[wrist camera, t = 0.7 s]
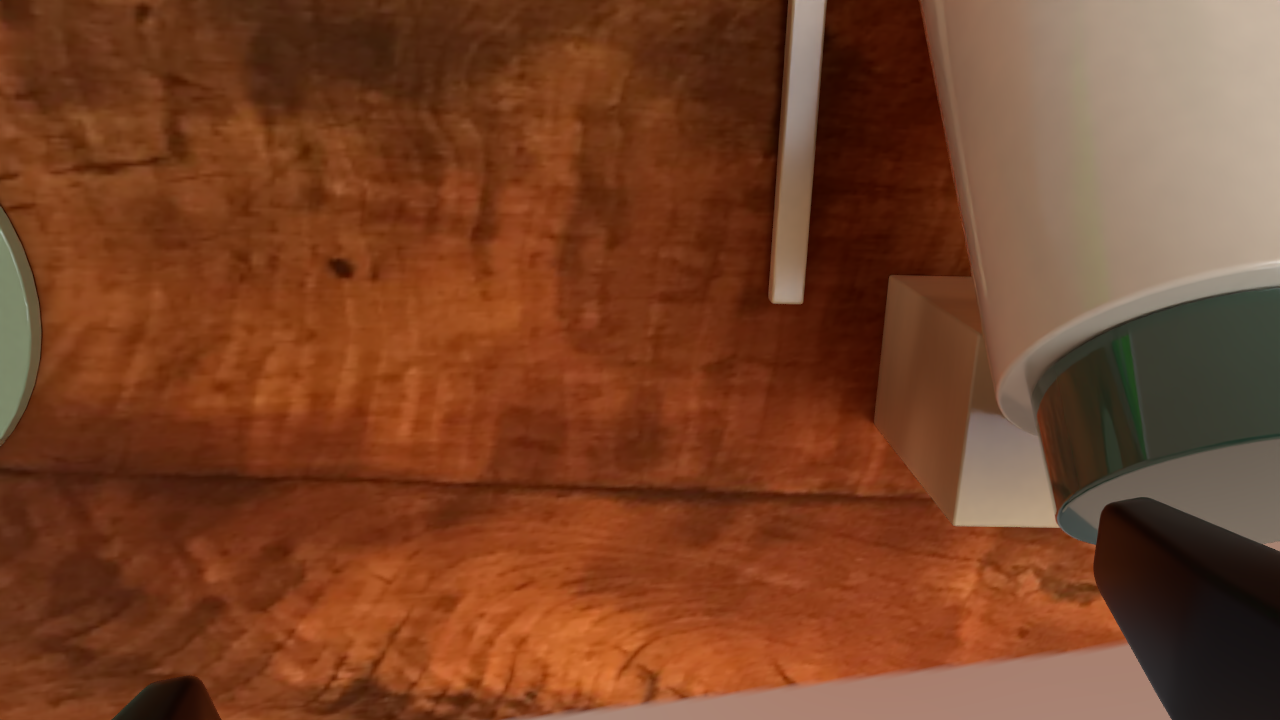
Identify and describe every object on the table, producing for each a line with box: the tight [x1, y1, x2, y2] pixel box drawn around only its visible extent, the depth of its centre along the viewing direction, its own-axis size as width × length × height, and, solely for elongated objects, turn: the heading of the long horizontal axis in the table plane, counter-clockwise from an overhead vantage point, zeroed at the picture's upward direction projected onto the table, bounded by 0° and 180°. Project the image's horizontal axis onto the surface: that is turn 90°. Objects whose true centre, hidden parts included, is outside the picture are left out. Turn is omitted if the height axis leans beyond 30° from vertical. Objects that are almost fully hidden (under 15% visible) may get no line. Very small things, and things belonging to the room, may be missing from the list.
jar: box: [919, 0, 1280, 545], centre depth 16 cm, size 13×6×13 cm, turn 178°
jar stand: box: [768, 0, 1060, 528], centre depth 20 cm, size 13×10×6 cm
